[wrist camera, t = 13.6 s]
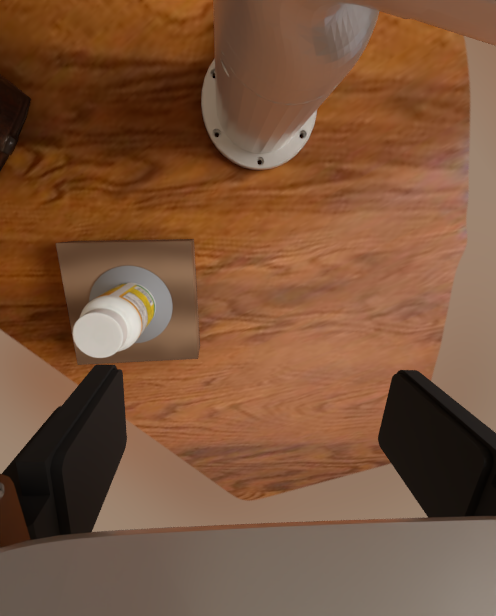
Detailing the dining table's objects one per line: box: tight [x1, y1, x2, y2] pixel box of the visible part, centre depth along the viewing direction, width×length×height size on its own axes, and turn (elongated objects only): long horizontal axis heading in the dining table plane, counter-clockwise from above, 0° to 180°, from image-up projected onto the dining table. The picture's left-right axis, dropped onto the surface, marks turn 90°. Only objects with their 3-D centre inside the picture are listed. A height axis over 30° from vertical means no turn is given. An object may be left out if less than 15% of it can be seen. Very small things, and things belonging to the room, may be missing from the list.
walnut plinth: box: [56, 239, 200, 365], centre depth 36 cm, size 14×14×4 cm
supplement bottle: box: [73, 283, 156, 358], centre depth 29 cm, size 5×5×10 cm
